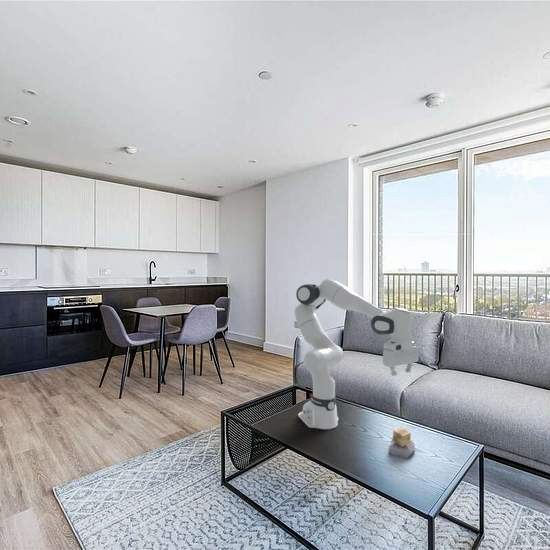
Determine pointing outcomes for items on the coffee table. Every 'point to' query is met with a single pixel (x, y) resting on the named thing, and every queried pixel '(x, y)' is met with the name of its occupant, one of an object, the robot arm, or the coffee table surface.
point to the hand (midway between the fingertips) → (401, 373)
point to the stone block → (401, 449)
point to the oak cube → (401, 437)
